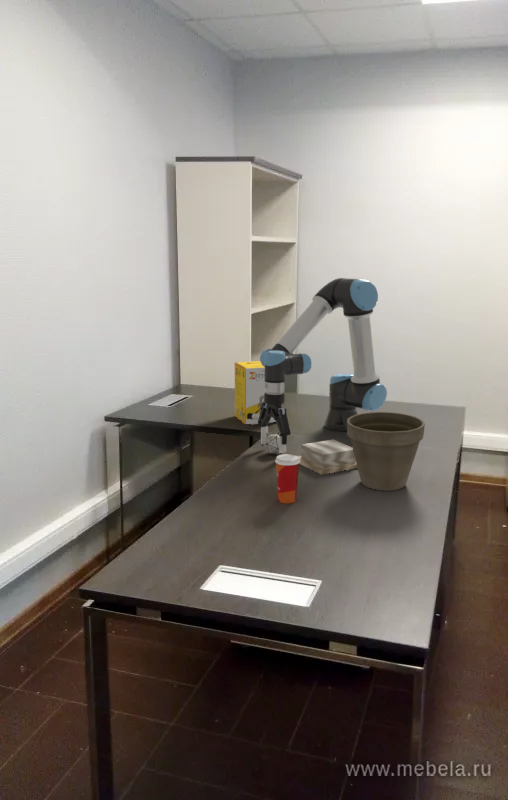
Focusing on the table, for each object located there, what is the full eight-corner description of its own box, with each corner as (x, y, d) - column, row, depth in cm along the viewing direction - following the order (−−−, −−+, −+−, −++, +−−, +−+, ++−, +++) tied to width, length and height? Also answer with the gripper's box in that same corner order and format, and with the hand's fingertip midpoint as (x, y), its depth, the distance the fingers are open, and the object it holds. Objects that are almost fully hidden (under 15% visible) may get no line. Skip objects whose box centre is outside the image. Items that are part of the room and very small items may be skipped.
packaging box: (268, 413, 328) (268, 360, 322) (280, 422, 313) (281, 366, 307) (234, 416, 323) (234, 362, 317) (245, 425, 308) (245, 368, 302)
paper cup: (283, 494, 224) (283, 452, 221) (303, 499, 220) (304, 456, 217) (269, 501, 218) (269, 458, 215) (290, 506, 214) (291, 462, 211)
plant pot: (370, 501, 218) (373, 434, 213) (331, 477, 240) (333, 415, 235) (436, 490, 228) (440, 425, 223) (392, 468, 250) (395, 408, 245)
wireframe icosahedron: (277, 464, 266) (283, 448, 258) (256, 455, 267) (262, 439, 259) (285, 447, 272) (291, 431, 264) (264, 439, 273) (270, 423, 265)
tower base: (334, 454, 266) (334, 437, 265) (363, 467, 251) (364, 449, 250) (293, 460, 258) (293, 443, 257) (321, 475, 243) (321, 456, 241)
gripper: (249, 387, 270) (248, 440, 275) (283, 400, 249) (281, 457, 253) (266, 385, 274) (265, 438, 278) (301, 398, 252) (299, 455, 257)
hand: (273, 447), depth 266 cm, fingers open, 13 cm apart
